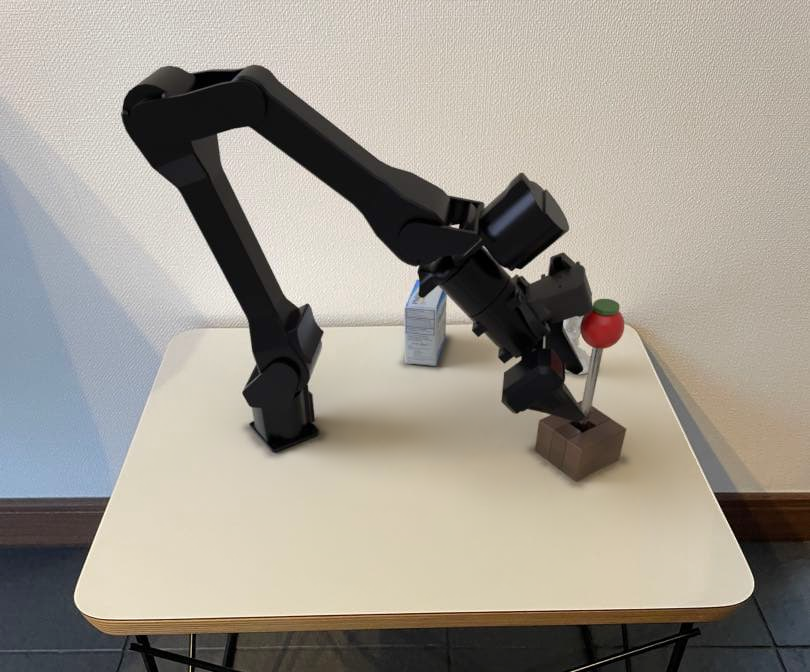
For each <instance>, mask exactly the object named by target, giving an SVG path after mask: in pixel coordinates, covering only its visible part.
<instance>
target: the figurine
mask: <svg viewBox="0 0 810 672" xmlns="http://www.w3.org/2000/svg"><path fill="white" fill-rule="evenodd" d="M582 318H583V316H581V317H578V316H575V317H572V318H569V319H566V320H564V323H563V326H564V329H565V331H566V333H567V335H568V337H569V339H570V341H571V343H572V345H573V347H574V349H575V351H576V353H577V356H578V358H579V360H580V362H581V364H582V366H583V371H582V372H581V373H579V374H577V375H580V376H581V375H584V374H588V369H589V364H590V359H591V354H588V353H587V351H586V350H585V349H583V348H581V347H580V346H579V345H580V337H581V331H580V325H581V321H582ZM565 373H570V374H572V373H571V372H569V371H567V370H565Z"/></svg>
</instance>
